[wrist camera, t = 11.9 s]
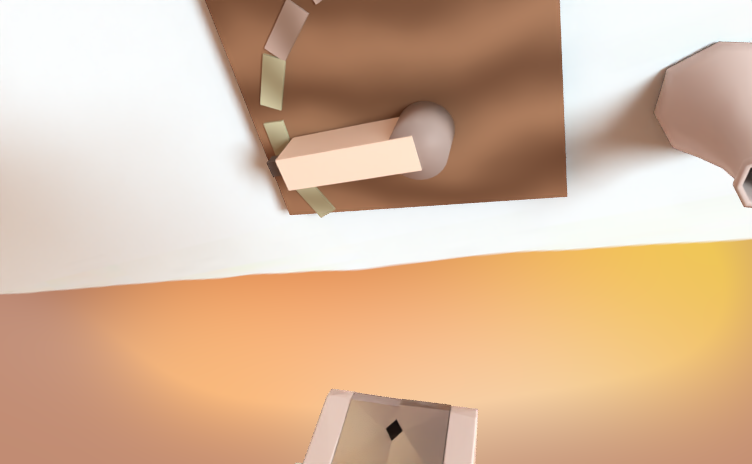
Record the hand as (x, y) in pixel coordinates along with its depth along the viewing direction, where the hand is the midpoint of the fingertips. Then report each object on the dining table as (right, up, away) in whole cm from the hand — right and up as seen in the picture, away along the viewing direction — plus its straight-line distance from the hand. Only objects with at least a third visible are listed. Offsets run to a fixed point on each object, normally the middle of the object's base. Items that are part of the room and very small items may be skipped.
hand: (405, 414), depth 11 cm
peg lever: (-2, +10, +27) cm, 29 cm away
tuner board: (+1, +14, +26) cm, 30 cm away
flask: (+20, +12, +22) cm, 32 cm away
